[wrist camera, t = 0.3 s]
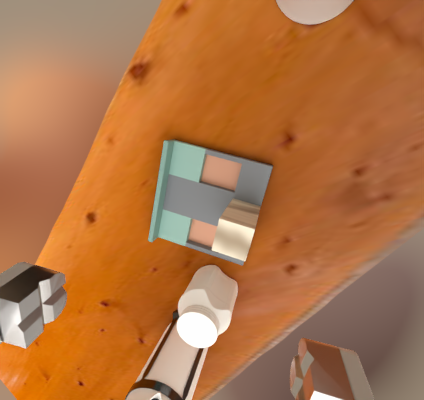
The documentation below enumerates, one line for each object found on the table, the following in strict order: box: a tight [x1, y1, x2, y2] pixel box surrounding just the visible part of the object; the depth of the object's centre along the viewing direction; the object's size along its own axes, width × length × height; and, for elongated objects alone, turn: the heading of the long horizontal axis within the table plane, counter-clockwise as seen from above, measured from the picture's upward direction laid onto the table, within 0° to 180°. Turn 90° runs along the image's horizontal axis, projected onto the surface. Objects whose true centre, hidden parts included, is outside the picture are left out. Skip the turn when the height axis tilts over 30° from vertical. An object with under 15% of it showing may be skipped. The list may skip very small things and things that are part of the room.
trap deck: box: [148, 139, 273, 265], centre depth 55 cm, size 23×22×5 cm
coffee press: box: [125, 310, 208, 400], centre depth 55 cm, size 17×16×30 cm
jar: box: [177, 265, 238, 348], centre depth 56 cm, size 12×10×15 cm
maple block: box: [212, 198, 261, 261], centre depth 48 cm, size 6×6×13 cm
